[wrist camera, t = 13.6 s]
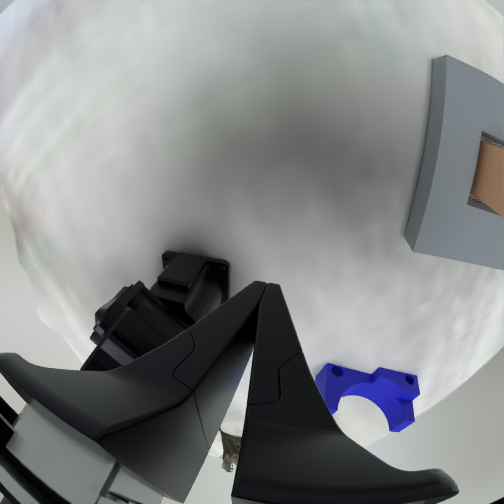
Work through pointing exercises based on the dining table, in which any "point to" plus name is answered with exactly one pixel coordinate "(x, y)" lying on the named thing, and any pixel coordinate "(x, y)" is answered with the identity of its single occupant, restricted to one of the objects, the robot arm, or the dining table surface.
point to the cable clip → (372, 391)
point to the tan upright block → (490, 177)
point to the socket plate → (457, 168)
